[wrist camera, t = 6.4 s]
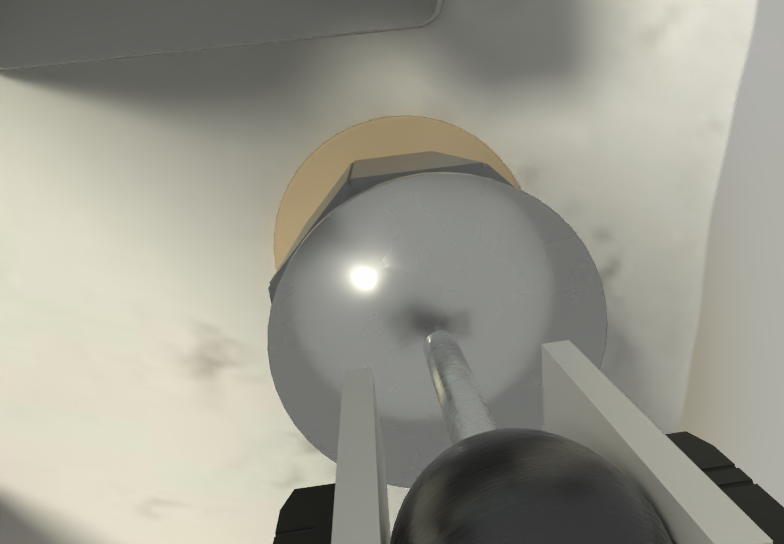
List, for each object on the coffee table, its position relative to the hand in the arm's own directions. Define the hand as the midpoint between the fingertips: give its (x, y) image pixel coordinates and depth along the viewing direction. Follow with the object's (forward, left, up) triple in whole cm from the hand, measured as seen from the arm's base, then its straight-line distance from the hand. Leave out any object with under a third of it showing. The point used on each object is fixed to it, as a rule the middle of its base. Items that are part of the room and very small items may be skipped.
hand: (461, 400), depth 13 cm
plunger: (0, 0, -15) cm, 15 cm away
